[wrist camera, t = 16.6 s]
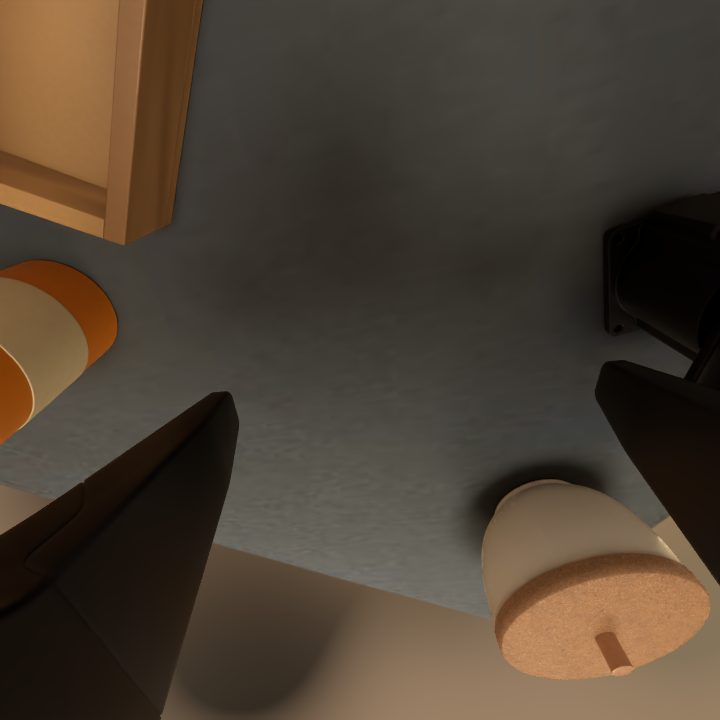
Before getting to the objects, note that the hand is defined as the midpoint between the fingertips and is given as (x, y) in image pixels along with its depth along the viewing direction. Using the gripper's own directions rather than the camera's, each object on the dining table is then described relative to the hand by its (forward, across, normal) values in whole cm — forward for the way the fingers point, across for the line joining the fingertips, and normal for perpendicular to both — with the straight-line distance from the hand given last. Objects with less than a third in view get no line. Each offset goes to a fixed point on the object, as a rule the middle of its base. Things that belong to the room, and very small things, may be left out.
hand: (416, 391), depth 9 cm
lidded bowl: (+13, -12, +22) cm, 28 cm away
